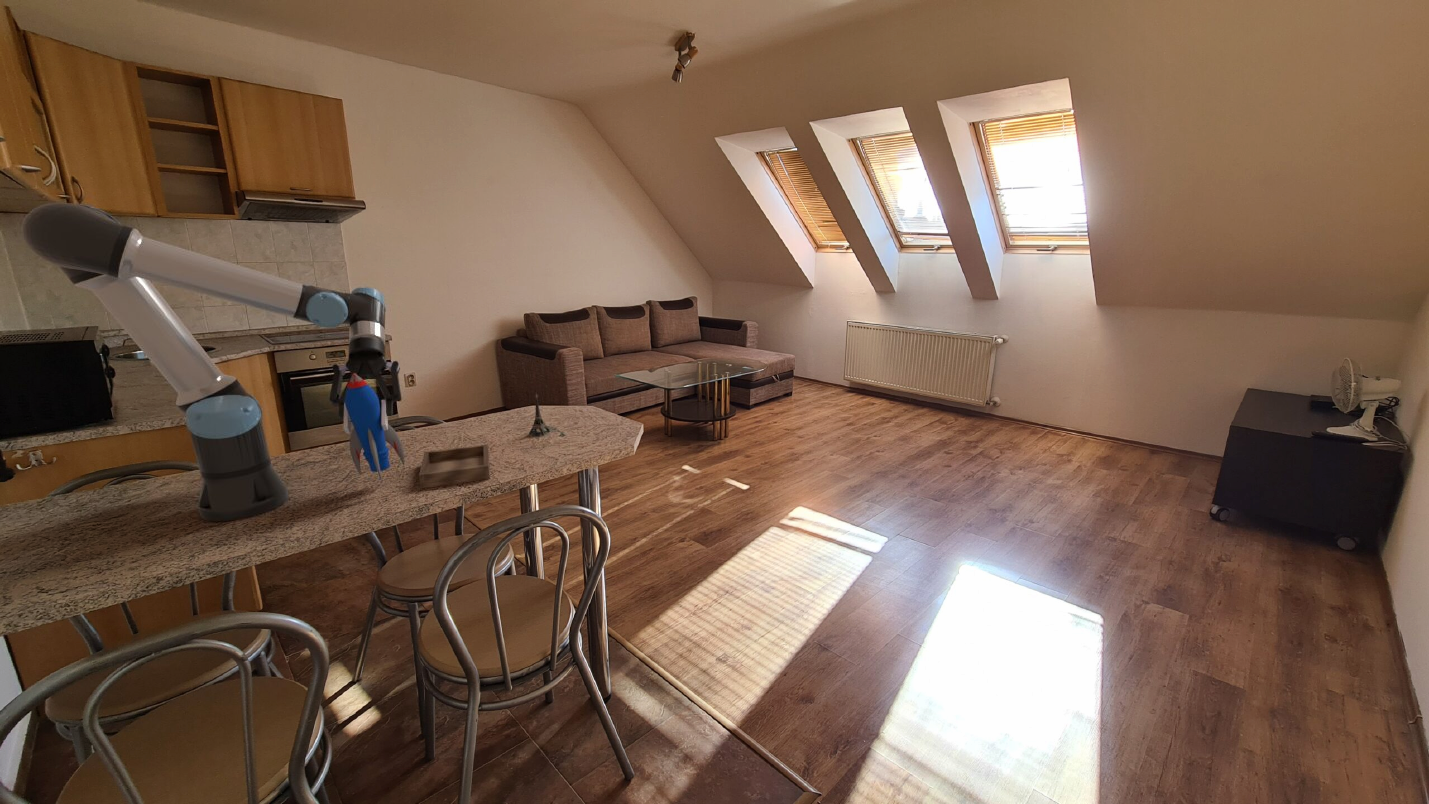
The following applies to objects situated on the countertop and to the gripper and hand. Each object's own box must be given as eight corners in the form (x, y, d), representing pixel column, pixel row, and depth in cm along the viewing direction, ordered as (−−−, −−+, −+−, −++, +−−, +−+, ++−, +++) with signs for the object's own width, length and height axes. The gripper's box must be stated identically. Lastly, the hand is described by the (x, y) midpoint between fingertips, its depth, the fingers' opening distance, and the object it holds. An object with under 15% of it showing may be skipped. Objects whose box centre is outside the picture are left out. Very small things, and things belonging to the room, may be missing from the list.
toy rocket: (383, 485, 130) (353, 380, 121) (341, 486, 131) (309, 382, 122) (408, 463, 140) (382, 365, 131) (369, 464, 141) (341, 366, 132)
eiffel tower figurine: (568, 437, 169) (564, 393, 166) (534, 445, 163) (530, 399, 160) (547, 425, 181) (544, 383, 177) (515, 431, 175) (511, 388, 171)
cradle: (420, 488, 134) (418, 475, 133) (426, 463, 148) (424, 451, 148) (489, 478, 139) (488, 465, 139) (488, 456, 154) (487, 444, 153)
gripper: (415, 351, 146) (417, 432, 136) (324, 356, 139) (319, 441, 129) (410, 333, 140) (412, 416, 129) (314, 337, 133) (308, 426, 122)
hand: (366, 429), depth 129 cm, fingers closed on toy rocket, 7 cm apart
